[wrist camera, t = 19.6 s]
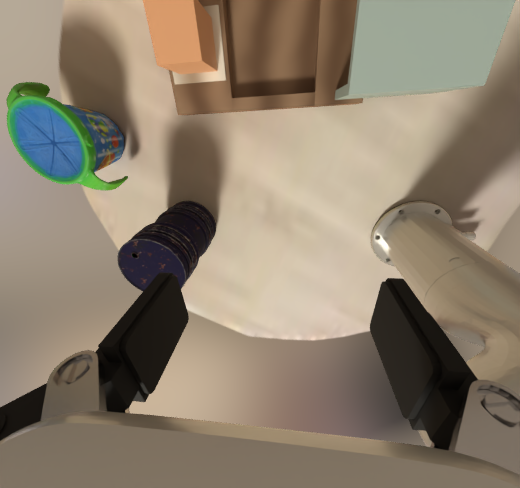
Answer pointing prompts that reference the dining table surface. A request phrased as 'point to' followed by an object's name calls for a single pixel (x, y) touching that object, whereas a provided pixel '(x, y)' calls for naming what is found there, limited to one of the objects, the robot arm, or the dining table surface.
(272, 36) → the board
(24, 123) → the snack cup
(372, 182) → the dining table surface
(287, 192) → the dining table surface
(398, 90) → the cover
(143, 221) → the dining table surface
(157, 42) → the block
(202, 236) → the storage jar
